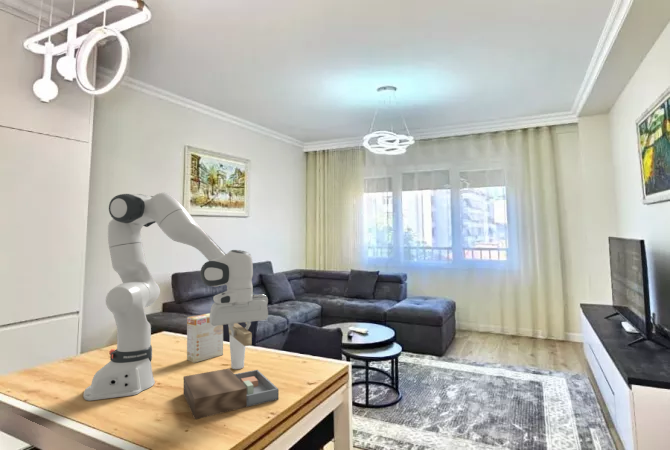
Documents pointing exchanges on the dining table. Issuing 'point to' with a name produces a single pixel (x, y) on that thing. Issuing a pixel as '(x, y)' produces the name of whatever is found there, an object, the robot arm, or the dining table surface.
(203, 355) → the coffeecake box
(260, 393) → the box
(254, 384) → the terracotta tile
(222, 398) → the walnut platform
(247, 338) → the bar
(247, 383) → the sage tile
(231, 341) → the drinking glass
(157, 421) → the dining table surface
